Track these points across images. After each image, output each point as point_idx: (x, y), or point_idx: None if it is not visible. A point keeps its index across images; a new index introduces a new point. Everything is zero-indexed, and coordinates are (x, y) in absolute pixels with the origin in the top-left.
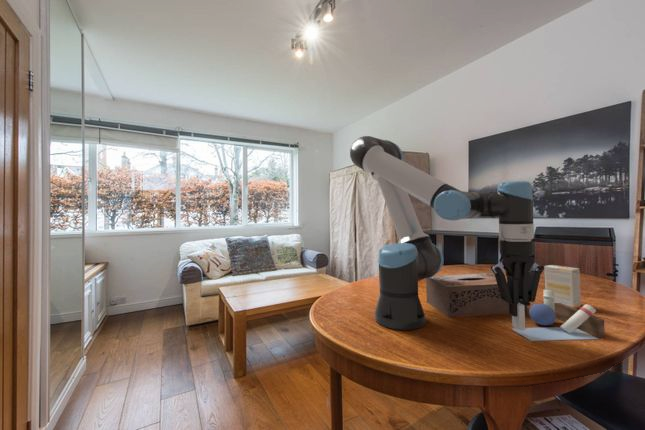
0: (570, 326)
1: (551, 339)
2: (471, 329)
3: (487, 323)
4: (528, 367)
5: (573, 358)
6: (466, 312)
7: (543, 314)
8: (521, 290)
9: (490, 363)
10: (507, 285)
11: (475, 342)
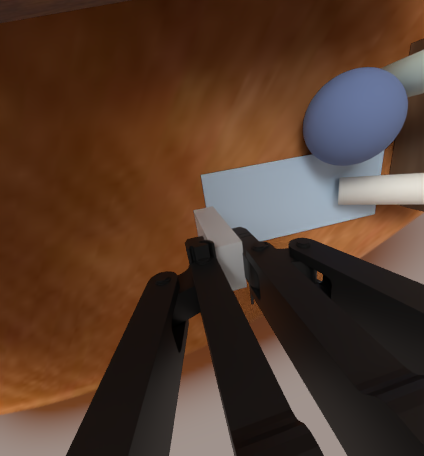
0: (355, 203)
1: (268, 238)
2: (50, 193)
3: (132, 124)
4: None
5: (252, 310)
6: (37, 2)
7: (337, 160)
8: (279, 330)
9: (69, 371)
10: (169, 441)
11: (49, 288)
